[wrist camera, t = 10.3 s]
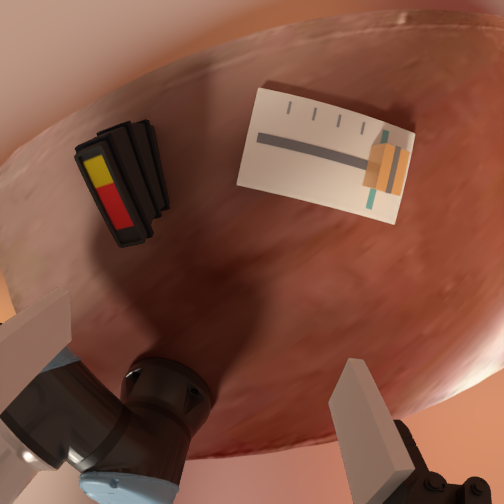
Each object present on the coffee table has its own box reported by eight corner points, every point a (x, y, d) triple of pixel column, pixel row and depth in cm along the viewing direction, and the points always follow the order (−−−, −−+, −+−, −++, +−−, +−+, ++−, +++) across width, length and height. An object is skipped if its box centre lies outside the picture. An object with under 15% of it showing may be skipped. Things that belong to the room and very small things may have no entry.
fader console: (388, 222, 38) (394, 224, 36) (237, 184, 38) (236, 185, 36) (408, 135, 35) (415, 133, 33) (258, 91, 35) (258, 87, 33)
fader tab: (384, 193, 35) (400, 197, 30) (362, 186, 35) (375, 189, 30) (393, 152, 34) (410, 151, 29) (371, 145, 34) (386, 142, 29)
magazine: (148, 99, 34) (103, 139, 22) (178, 186, 42) (157, 257, 31) (121, 108, 34) (68, 153, 23) (153, 192, 43) (125, 264, 31)
